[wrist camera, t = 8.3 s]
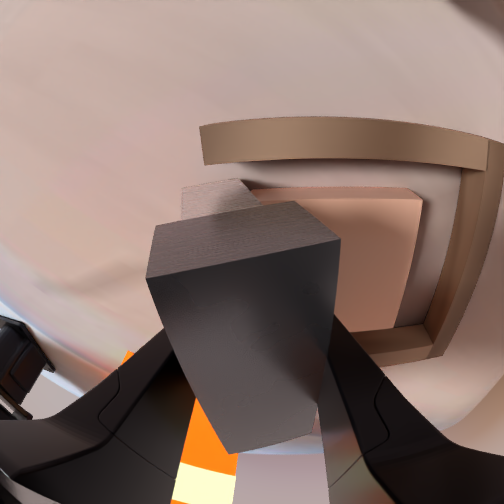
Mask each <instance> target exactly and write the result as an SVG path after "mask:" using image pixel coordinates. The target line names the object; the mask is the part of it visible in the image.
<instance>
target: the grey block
mask: <svg viewBox="0 0 504 504" xmlns="http://www.w3.org/2000/svg"><path fill="white" fill-rule="evenodd" d="M340 249H341V238H340V237H338V236H337V235H336V234H335V233H334V232H332V231H331V230H330V229H329V228H328V227H326V226H325V225H324V224H323V223H322V222H320V221H319V220H318V219H317V218H316V217H314V216H313V215H312V214H311V213H309V212H308V211H307V210H306V209H304V208H303V207H302V206H301V205H299V204H298V203H297V202H295V201H289V202H282V203H276V204H270V205H262V204H261V202H260V201H259V200H258V199H257V198H256V197H255V196H254V195H253V194H252V193H251V192H250V190H249V189H248V188H247V187H246V186H245V185H244V184H243V183H242V182H241V181H240V180H239V179H238V178H236V179H230V180H224V181H218V182H212V183H206V184H201V185H196V186H190V187H185V188H182V220H181V221H177V222H172V223H167V224H162V225H157V226H156V227H155V232H154V236H153V241H152V246H151V251H150V257H149V262H148V268H147V273H146V281H147V284H148V287H149V290H150V292H151V295H152V298H153V301H154V303H155V306H156V309H157V311H158V314H159V316H160V319H161V321H162V324H163V326H164V329H165V331H166V334H167V336H168V338H169V341H170V343H171V345H172V348H173V350H174V352H175V354H176V357H177V359H178V361H179V363H180V365H181V368H182V370H183V372H184V374H185V376H186V378H187V380H188V382H189V384H190V386H191V388H192V390H193V392H194V394H195V396H196V398H197V400H198V402H199V404H200V406H201V408H202V410H203V411H204V413H205V415H206V417H207V419H208V421H209V422H210V424H211V426H212V428H213V430H214V431H215V433H216V435H217V436H218V438H219V440H220V442H221V443H222V445H223V447H224V448H225V450H226V451H227V453H228V455H230V454H235V453H240V452H245V451H249V450H254V449H258V448H262V447H266V446H270V445H274V444H277V443H281V442H284V441H288V440H291V439H294V438H297V437H300V436H303V435H306V434H309V433H311V432H312V428H313V424H314V420H315V415H316V411H317V403H318V398H319V393H320V388H321V383H322V378H323V373H324V367H325V361H326V357H327V356H328V350H329V343H330V337H331V330H332V323H333V316H334V308H335V300H336V292H337V282H338V272H339V261H340Z"/></svg>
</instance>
